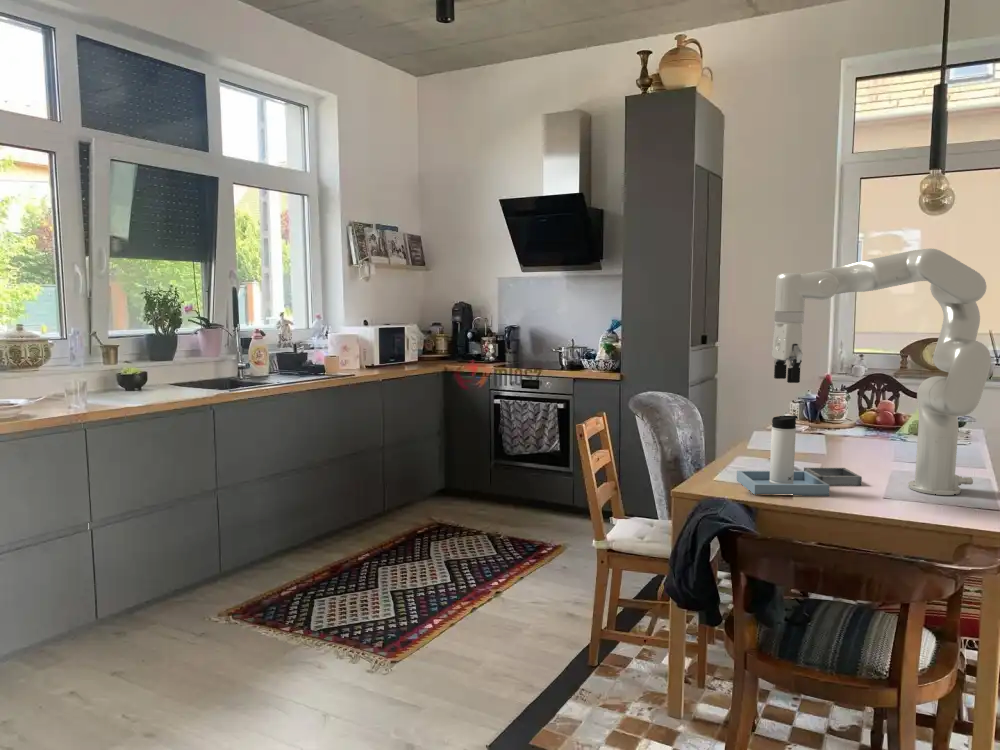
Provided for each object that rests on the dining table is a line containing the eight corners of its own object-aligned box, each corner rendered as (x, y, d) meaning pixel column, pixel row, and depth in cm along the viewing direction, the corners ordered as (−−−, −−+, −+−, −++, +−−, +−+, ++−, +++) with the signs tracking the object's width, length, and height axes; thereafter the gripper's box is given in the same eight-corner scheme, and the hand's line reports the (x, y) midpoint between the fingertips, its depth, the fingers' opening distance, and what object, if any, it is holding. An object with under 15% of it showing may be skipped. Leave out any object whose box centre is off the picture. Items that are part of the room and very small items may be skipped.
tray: (805, 481, 216) (806, 471, 216) (829, 496, 200) (829, 485, 200) (736, 480, 217) (736, 470, 216) (754, 495, 201) (754, 484, 200)
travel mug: (796, 489, 205) (799, 417, 203) (771, 488, 206) (774, 416, 204) (792, 483, 211) (795, 414, 209) (767, 482, 212) (770, 413, 210)
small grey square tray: (843, 475, 223) (844, 467, 222) (861, 485, 212) (861, 476, 211) (803, 475, 223) (804, 467, 222) (818, 485, 212) (819, 476, 212)
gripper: (764, 317, 212) (762, 377, 214) (787, 319, 195) (784, 384, 197) (790, 317, 212) (788, 377, 214) (816, 319, 195) (813, 384, 197)
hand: (786, 380), depth 206 cm, fingers open, 9 cm apart
